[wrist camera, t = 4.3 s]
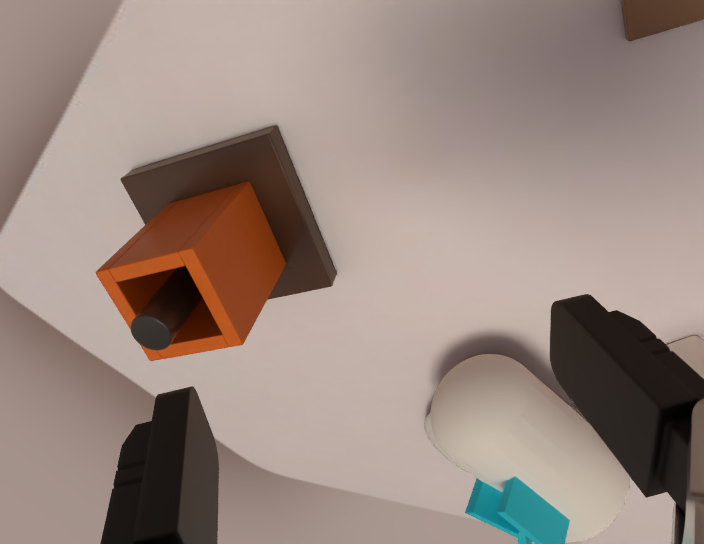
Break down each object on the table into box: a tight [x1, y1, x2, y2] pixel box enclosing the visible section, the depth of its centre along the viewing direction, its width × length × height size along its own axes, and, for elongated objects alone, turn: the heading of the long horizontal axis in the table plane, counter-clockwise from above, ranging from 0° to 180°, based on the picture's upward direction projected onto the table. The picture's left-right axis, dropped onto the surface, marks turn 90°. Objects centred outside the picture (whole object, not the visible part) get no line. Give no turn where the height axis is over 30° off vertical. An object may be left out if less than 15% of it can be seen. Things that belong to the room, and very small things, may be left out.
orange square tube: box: [96, 181, 286, 361], centre depth 32 cm, size 6×6×8 cm
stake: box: [121, 126, 336, 350], centre depth 32 cm, size 10×10×12 cm
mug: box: [424, 354, 630, 544], centre depth 38 cm, size 12×9×12 cm
